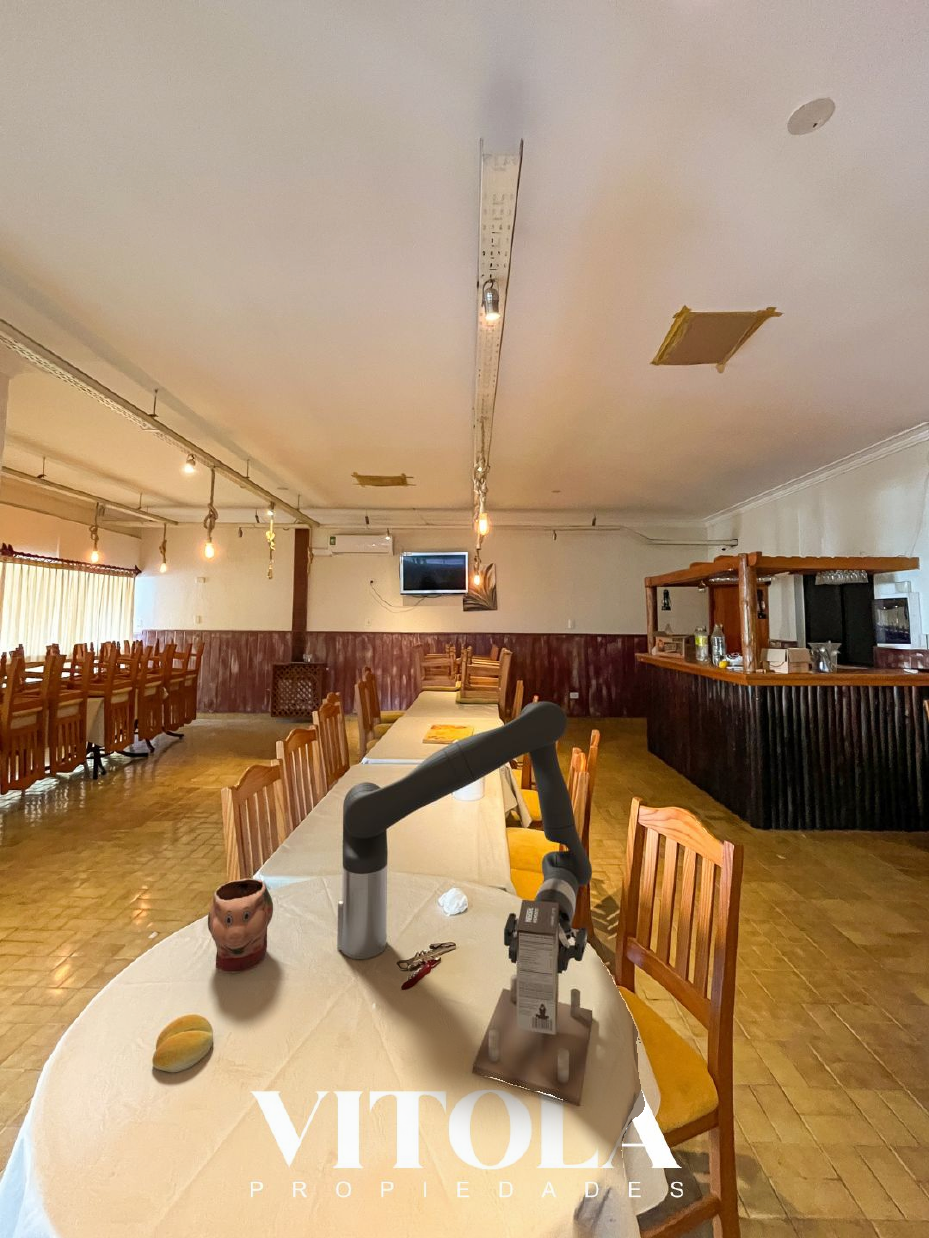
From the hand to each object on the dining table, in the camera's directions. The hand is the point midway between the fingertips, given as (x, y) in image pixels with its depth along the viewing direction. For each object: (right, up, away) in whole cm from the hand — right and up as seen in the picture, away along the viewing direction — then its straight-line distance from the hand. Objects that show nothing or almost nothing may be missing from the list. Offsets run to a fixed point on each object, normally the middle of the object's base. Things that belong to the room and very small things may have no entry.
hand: (536, 962), depth 86 cm
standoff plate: (0, -14, +2) cm, 15 cm away
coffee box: (+1, -10, +2) cm, 10 cm away
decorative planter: (-57, -14, +24) cm, 63 cm away
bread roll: (-56, -14, 0) cm, 58 cm away
